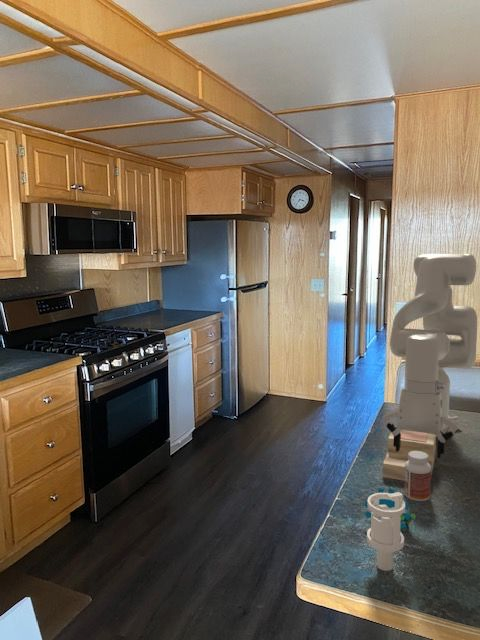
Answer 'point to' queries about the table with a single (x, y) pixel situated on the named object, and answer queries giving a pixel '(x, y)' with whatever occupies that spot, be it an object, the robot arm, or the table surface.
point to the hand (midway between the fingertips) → (418, 452)
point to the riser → (407, 452)
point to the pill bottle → (417, 476)
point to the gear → (390, 504)
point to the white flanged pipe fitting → (385, 528)
